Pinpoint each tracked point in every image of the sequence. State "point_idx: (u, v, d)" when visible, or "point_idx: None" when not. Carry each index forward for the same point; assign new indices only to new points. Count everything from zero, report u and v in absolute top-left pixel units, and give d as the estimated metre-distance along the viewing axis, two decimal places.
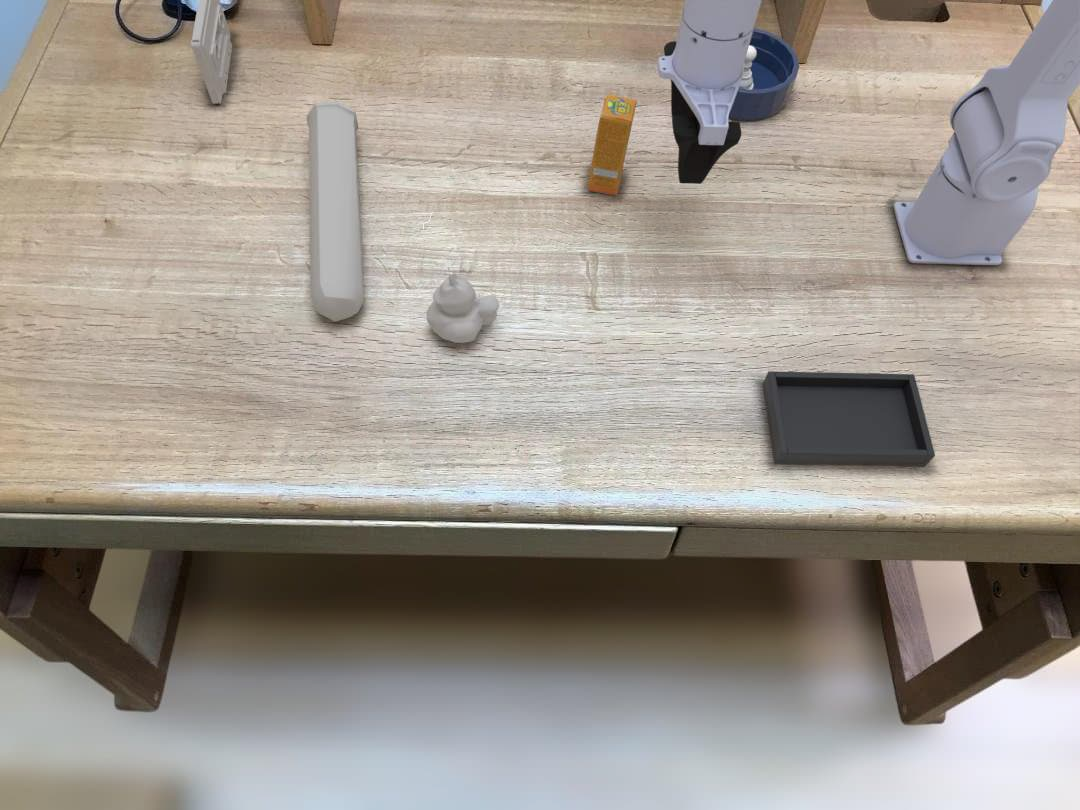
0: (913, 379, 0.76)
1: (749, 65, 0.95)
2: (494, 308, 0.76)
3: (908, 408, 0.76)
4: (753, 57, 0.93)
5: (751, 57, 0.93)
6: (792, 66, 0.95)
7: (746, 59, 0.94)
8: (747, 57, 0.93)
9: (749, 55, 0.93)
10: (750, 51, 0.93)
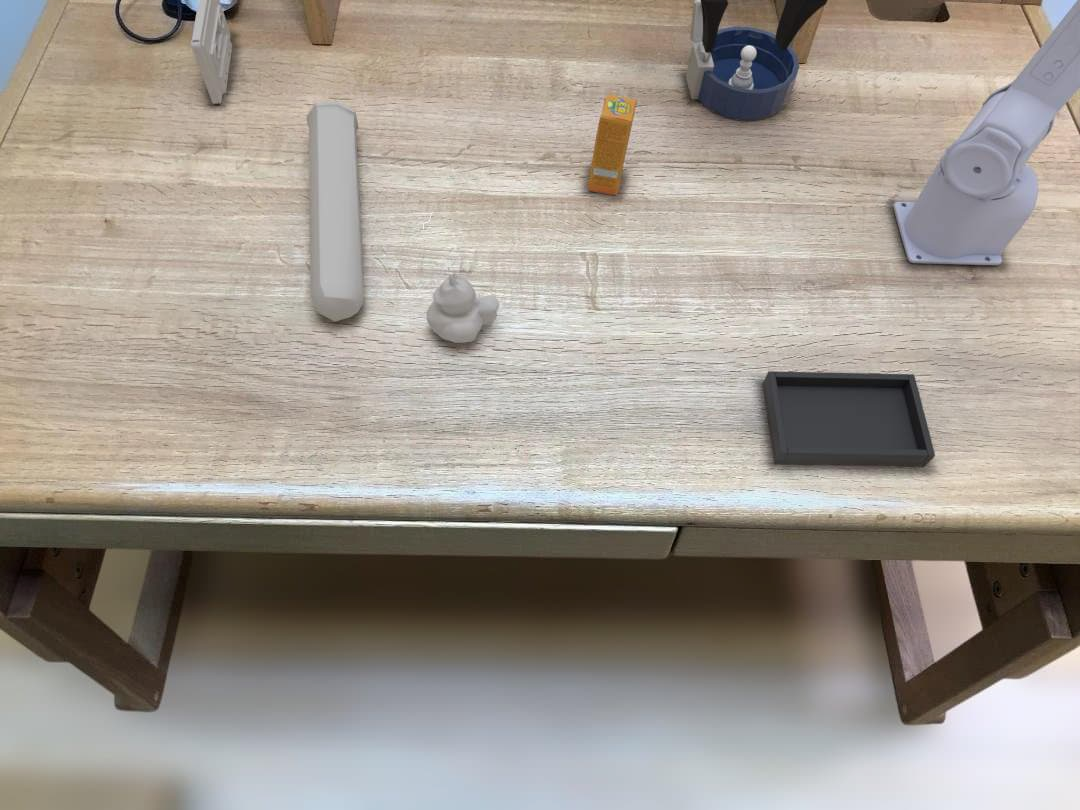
0: (913, 379, 0.76)
1: (749, 65, 0.95)
2: (494, 308, 0.76)
3: (908, 408, 0.76)
4: (753, 57, 0.93)
5: (751, 57, 0.93)
6: (792, 66, 0.95)
7: (746, 59, 0.94)
8: (747, 57, 0.93)
9: (749, 55, 0.93)
10: (750, 51, 0.93)
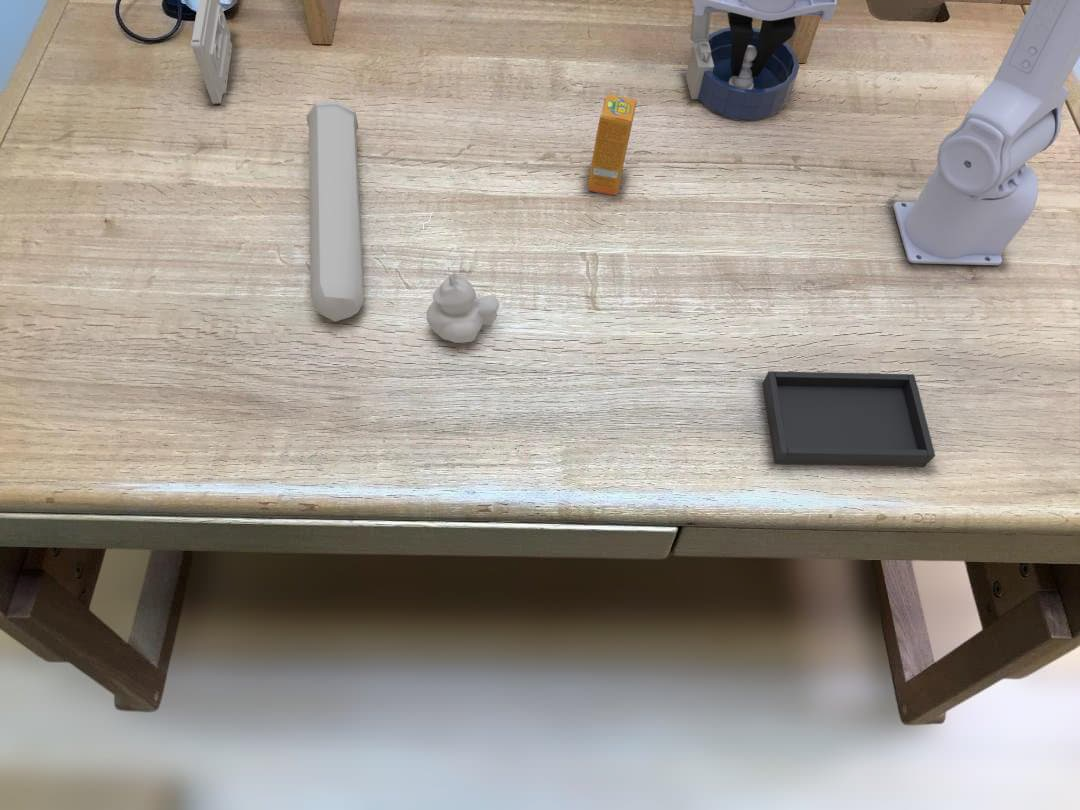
0: (913, 379, 0.76)
1: (749, 65, 0.95)
2: (494, 308, 0.76)
3: (908, 408, 0.76)
4: (754, 57, 0.93)
5: (752, 57, 0.93)
6: (792, 66, 0.95)
7: (747, 59, 0.94)
8: (748, 57, 0.93)
9: (750, 55, 0.93)
10: (751, 51, 0.93)
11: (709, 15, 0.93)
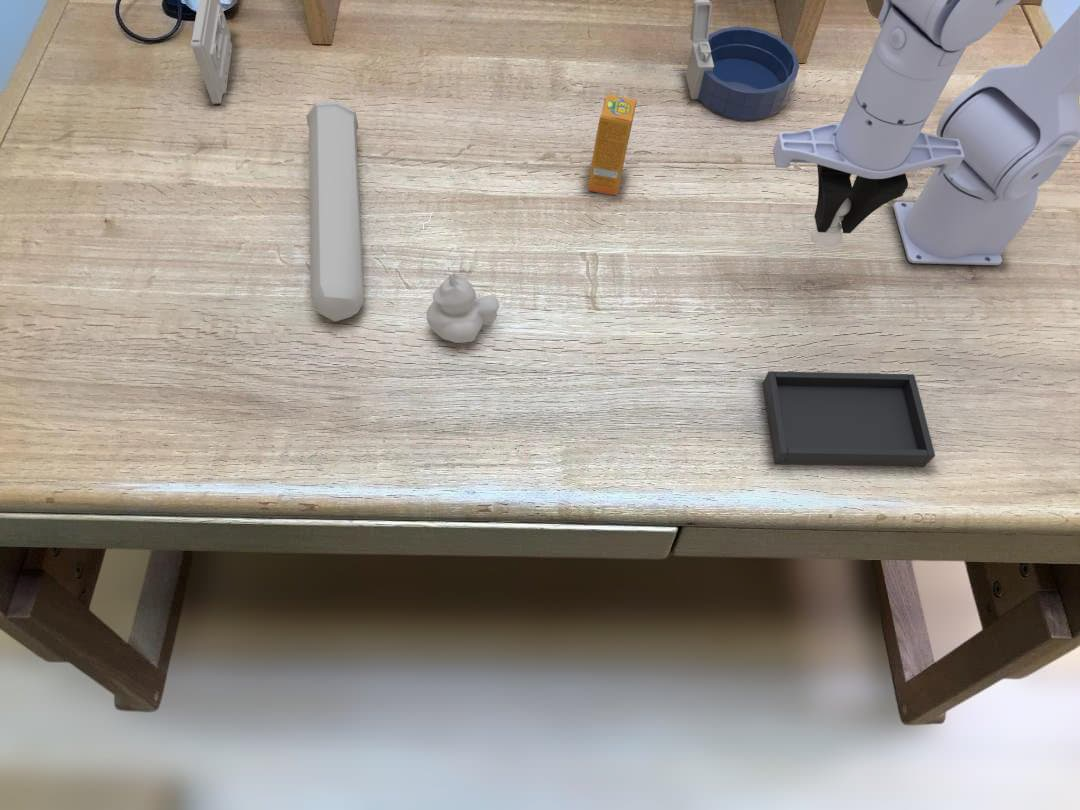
0: (913, 379, 0.76)
1: (840, 219, 0.74)
2: (494, 308, 0.76)
3: (908, 408, 0.76)
4: (847, 211, 0.73)
5: (844, 211, 0.73)
6: (792, 66, 0.95)
7: (838, 213, 0.73)
8: (840, 211, 0.73)
9: (842, 209, 0.73)
10: (844, 204, 0.72)
11: (709, 15, 0.93)
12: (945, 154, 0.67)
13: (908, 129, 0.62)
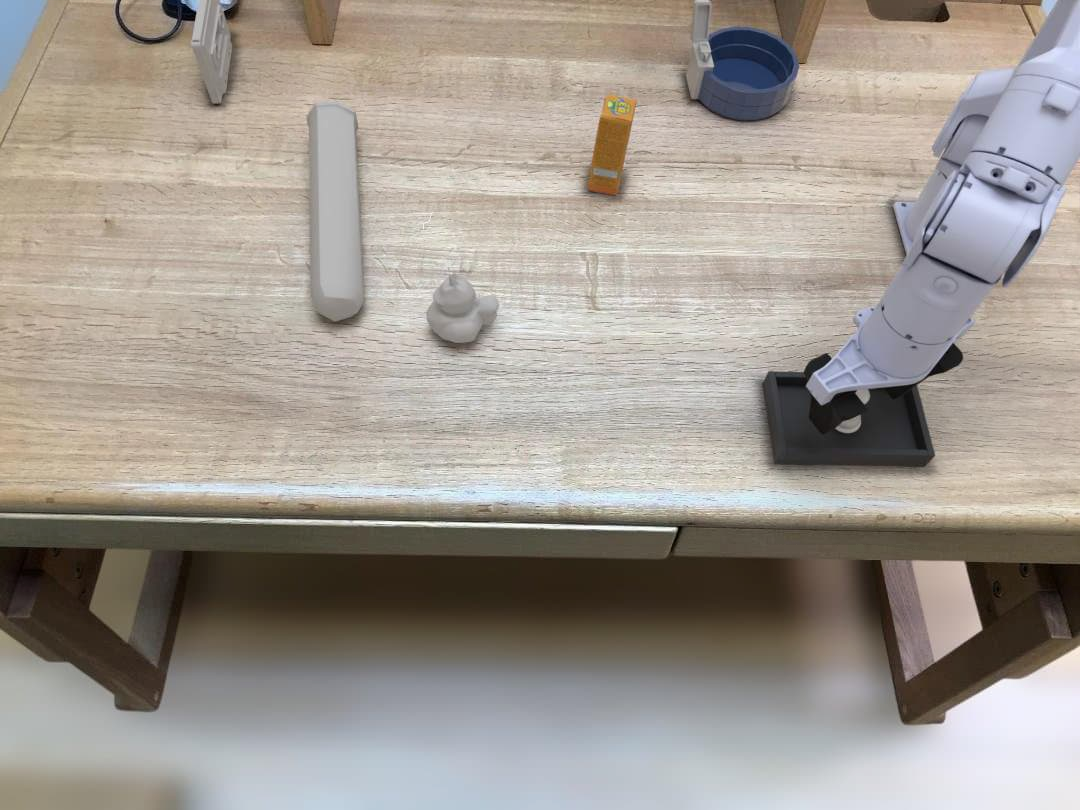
0: None
1: None
2: (494, 308, 0.76)
3: (908, 408, 0.76)
4: (868, 399, 0.71)
5: None
6: (792, 66, 0.95)
7: None
8: None
9: (865, 400, 0.71)
10: (865, 396, 0.71)
11: (709, 15, 0.93)
12: None
13: (951, 340, 0.61)
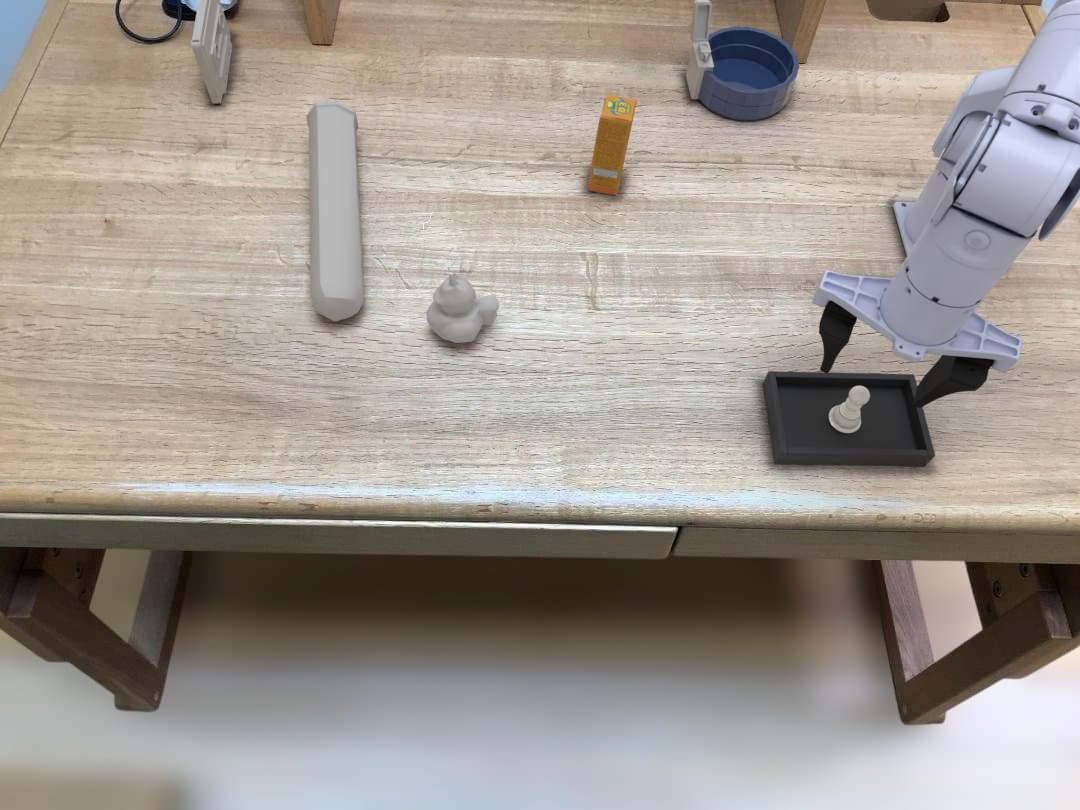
0: (913, 379, 0.76)
1: None
2: (494, 308, 0.76)
3: (908, 408, 0.76)
4: (868, 399, 0.71)
5: None
6: (792, 66, 0.95)
7: (861, 405, 0.71)
8: (863, 403, 0.71)
9: (865, 400, 0.71)
10: (865, 396, 0.71)
11: (709, 15, 0.93)
12: None
13: None
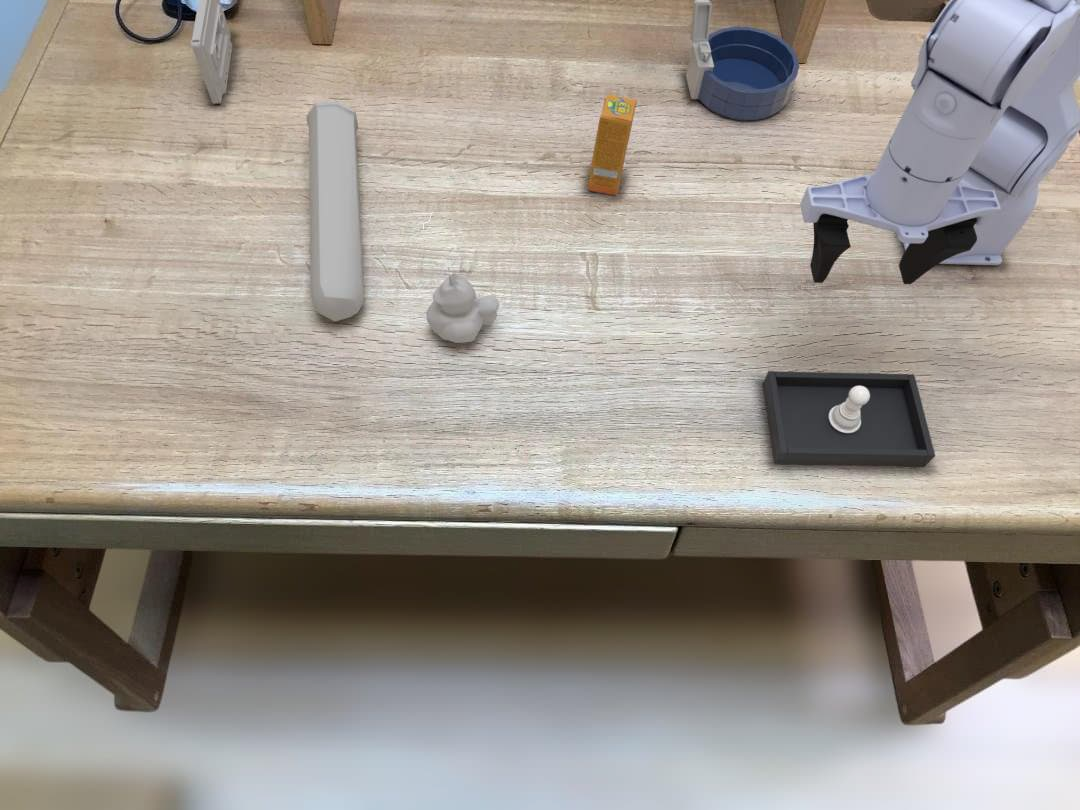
0: (913, 379, 0.76)
1: None
2: (494, 308, 0.76)
3: (908, 408, 0.76)
4: (868, 399, 0.71)
5: None
6: (792, 66, 0.95)
7: (861, 405, 0.71)
8: (863, 403, 0.71)
9: (865, 400, 0.71)
10: (865, 396, 0.71)
11: (709, 15, 0.93)
12: None
13: None
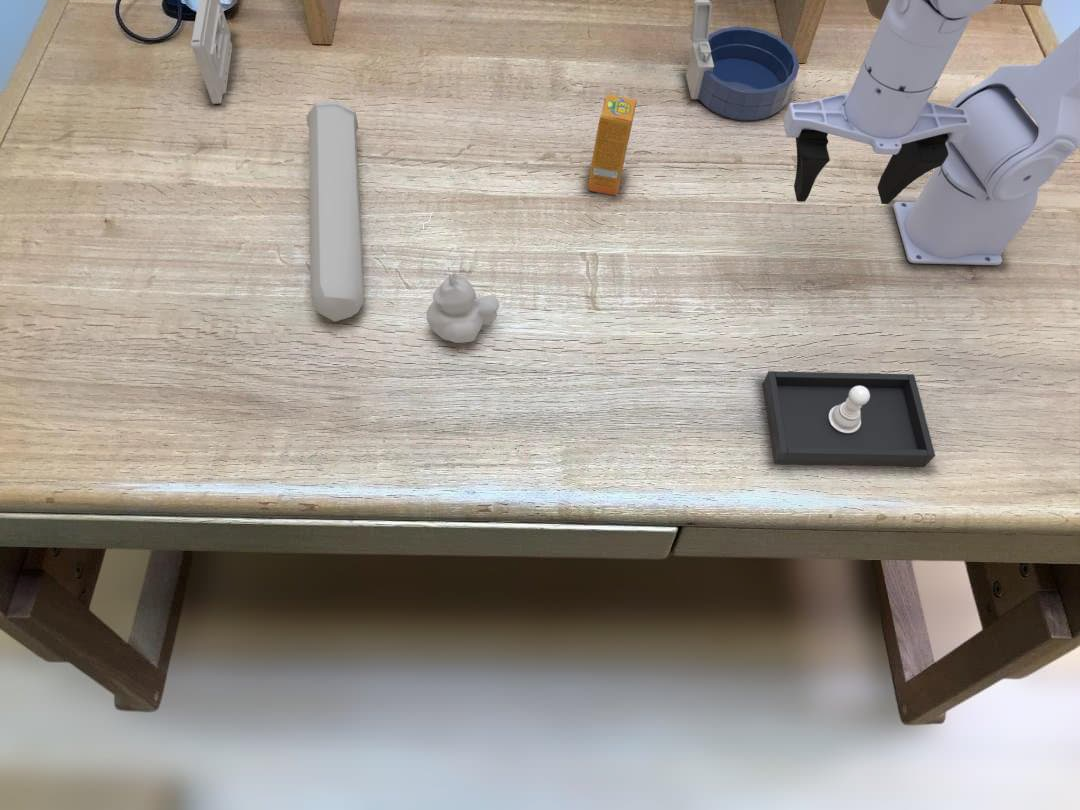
0: (913, 379, 0.76)
1: None
2: (494, 308, 0.76)
3: (908, 408, 0.76)
4: (868, 399, 0.71)
5: None
6: (792, 66, 0.95)
7: (861, 405, 0.71)
8: (863, 403, 0.71)
9: (865, 400, 0.71)
10: (865, 396, 0.71)
11: (709, 15, 0.93)
12: None
13: None
